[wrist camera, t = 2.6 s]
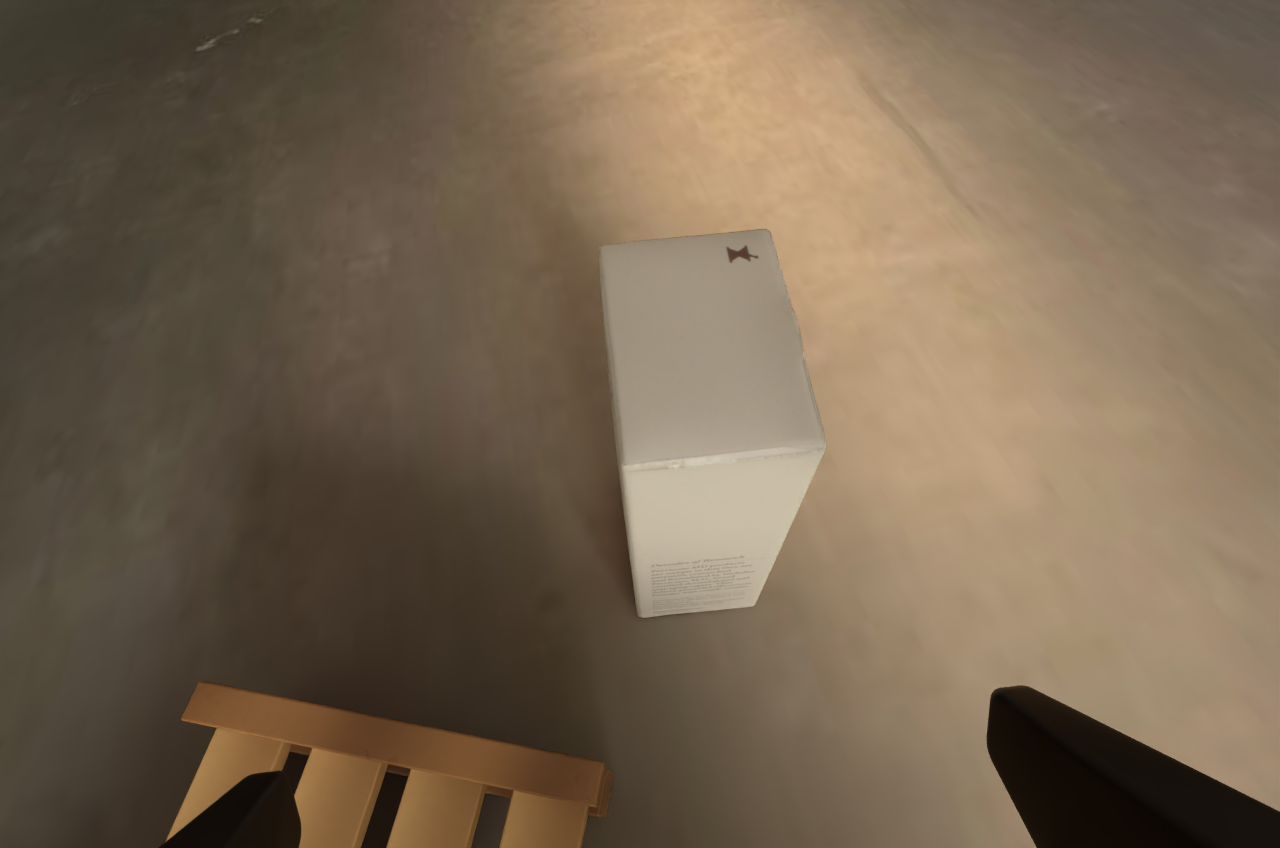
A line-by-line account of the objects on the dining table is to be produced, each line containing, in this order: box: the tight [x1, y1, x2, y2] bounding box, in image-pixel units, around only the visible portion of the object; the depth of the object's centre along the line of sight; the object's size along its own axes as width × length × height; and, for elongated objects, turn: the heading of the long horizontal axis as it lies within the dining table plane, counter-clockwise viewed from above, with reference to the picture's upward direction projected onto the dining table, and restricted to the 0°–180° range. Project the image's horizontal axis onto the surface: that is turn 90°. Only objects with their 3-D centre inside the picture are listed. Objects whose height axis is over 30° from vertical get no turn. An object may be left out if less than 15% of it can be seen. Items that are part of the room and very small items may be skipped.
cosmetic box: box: [599, 229, 826, 618], centre depth 20 cm, size 6×4×12 cm
